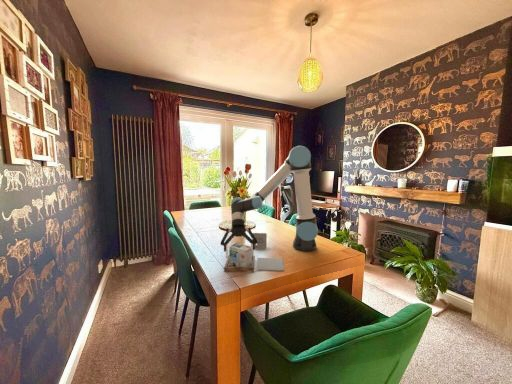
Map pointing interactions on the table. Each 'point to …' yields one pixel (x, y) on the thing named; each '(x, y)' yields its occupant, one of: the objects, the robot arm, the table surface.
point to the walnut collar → (239, 269)
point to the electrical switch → (261, 240)
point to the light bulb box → (240, 255)
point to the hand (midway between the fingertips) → (239, 256)
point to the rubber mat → (270, 264)
